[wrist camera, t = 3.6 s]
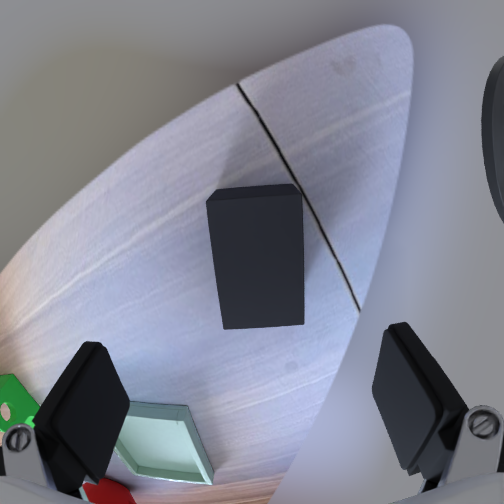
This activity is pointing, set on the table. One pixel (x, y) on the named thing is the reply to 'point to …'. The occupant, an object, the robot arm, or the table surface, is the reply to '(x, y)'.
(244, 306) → the black block
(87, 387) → the robot arm
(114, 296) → the table surface
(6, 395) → the mechanical part
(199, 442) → the mount tray
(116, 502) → the ceramic cup
